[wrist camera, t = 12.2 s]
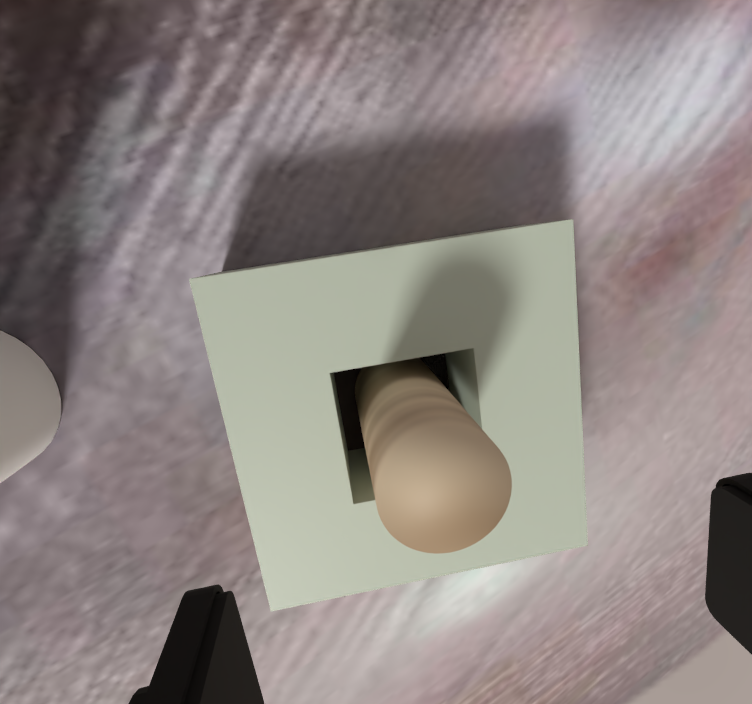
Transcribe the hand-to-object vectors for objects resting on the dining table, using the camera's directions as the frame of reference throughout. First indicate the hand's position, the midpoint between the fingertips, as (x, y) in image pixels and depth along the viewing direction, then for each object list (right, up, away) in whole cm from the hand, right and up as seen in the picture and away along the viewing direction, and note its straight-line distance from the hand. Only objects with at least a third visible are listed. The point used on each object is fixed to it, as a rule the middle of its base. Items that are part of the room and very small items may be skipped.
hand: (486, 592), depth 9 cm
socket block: (-1, +3, +14) cm, 14 cm away
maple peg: (-1, +3, +14) cm, 14 cm away
